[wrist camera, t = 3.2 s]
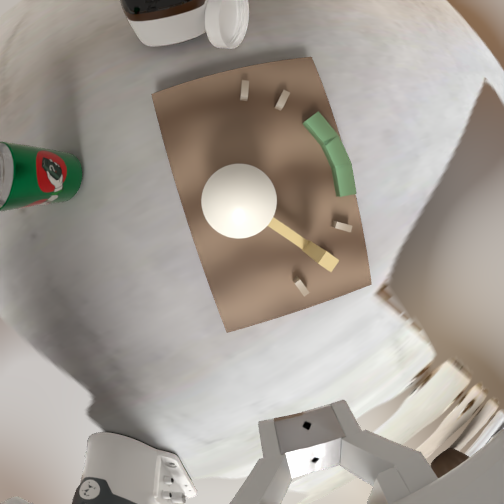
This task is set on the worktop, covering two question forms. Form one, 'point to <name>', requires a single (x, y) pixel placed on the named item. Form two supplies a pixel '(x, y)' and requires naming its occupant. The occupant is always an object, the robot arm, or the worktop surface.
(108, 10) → the worktop surface
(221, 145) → the gauge board
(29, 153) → the soda can
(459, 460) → the plant pot
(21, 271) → the worktop surface
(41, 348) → the worktop surface
